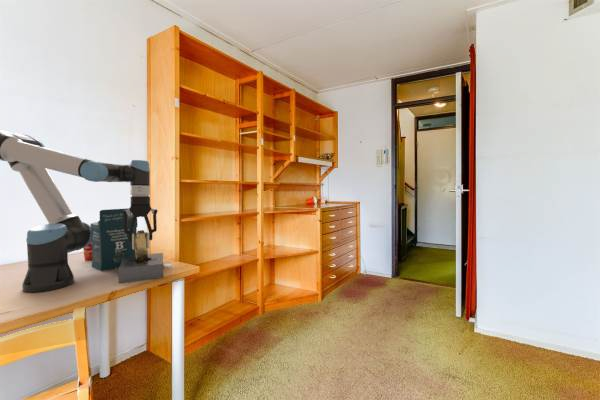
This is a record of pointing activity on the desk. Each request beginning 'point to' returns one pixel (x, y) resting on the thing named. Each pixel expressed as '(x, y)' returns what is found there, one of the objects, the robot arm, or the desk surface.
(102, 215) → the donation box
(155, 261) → the housing
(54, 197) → the robot arm
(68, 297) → the desk surface
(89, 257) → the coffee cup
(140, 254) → the tan upright cylinder
